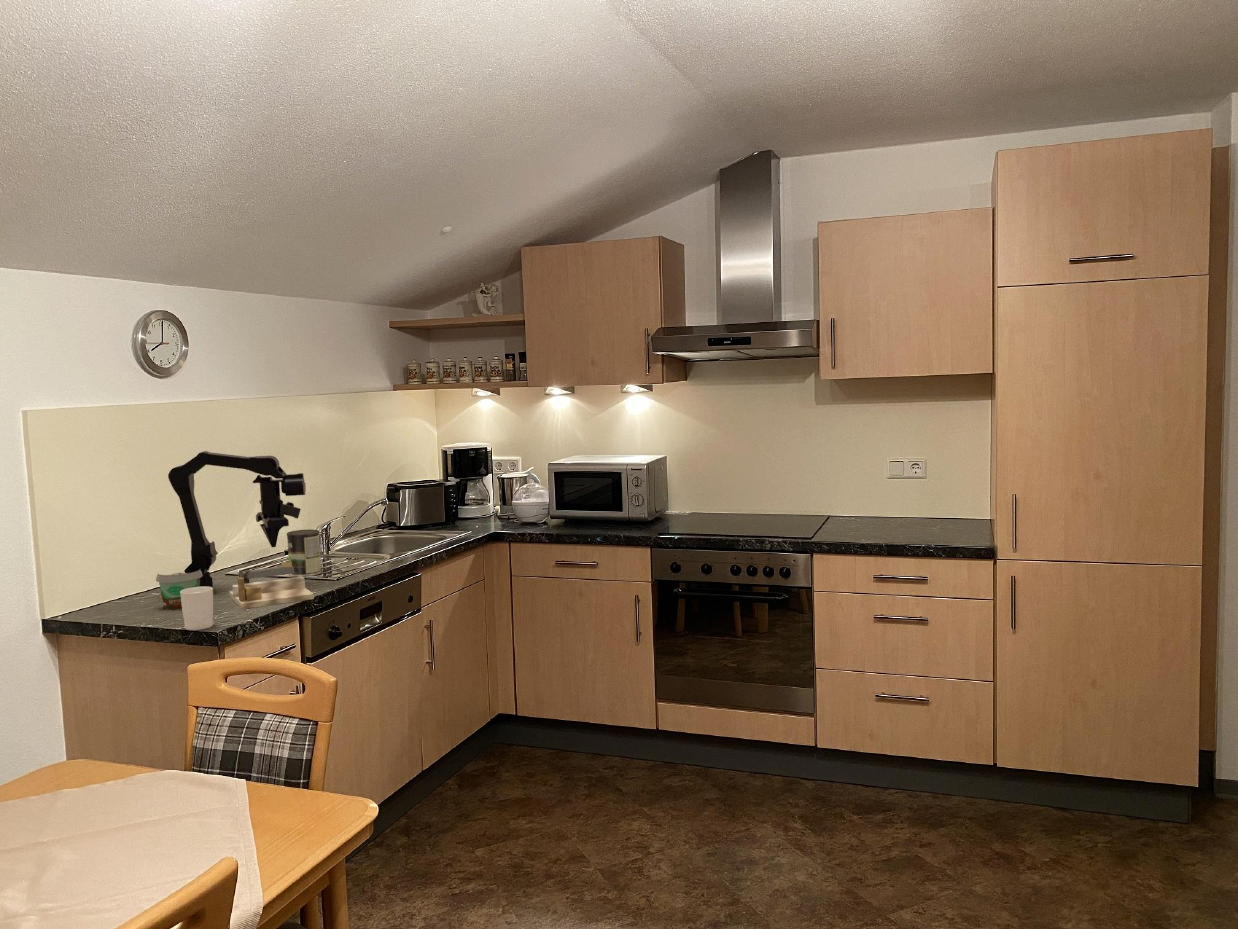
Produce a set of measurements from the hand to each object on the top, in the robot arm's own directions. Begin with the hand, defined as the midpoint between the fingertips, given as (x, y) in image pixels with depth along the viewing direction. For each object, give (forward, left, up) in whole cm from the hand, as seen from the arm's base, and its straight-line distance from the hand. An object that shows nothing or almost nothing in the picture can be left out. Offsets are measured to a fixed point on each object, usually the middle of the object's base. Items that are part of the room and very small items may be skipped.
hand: (273, 546), depth 294 cm
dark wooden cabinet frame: (-4, -7, -8) cm, 11 cm away
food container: (-28, -9, -13) cm, 32 cm away
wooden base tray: (-4, -13, -13) cm, 18 cm away
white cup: (-27, -37, -13) cm, 47 cm away
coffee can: (+13, +17, -13) cm, 25 cm away
